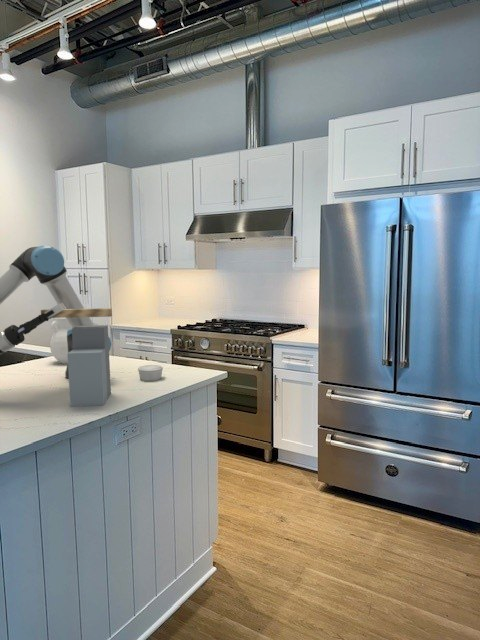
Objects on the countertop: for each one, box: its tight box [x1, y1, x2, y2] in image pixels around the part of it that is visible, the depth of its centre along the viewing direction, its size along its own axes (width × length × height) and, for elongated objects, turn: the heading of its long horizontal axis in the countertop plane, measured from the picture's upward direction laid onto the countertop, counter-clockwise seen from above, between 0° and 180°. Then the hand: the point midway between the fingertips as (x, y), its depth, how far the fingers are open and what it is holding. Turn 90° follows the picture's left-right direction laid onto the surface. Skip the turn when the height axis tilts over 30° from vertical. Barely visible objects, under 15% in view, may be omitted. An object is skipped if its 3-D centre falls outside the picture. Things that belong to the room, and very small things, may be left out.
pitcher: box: [49, 318, 72, 365], centre depth 248 cm, size 19×18×25 cm
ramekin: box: [137, 364, 164, 382], centre depth 211 cm, size 11×11×5 cm
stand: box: [67, 324, 112, 407], centre depth 178 cm, size 12×16×28 cm
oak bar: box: [40, 307, 113, 319], centre depth 179 cm, size 26×3×3 cm, turn 96°
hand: (62, 306), depth 178 cm, fingers closed on oak bar, 3 cm apart
